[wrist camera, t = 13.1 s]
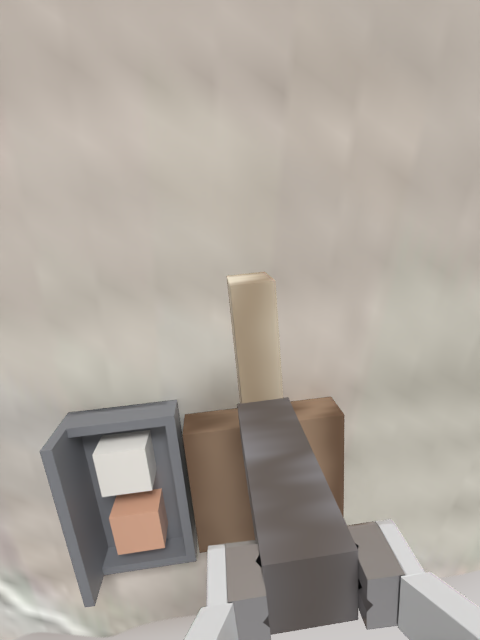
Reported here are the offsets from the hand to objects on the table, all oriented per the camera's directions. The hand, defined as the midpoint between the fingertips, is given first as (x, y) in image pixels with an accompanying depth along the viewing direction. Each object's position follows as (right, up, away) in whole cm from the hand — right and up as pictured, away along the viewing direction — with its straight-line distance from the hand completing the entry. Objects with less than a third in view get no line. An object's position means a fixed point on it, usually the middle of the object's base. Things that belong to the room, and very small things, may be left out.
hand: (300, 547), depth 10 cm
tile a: (-11, -5, +17) cm, 21 cm away
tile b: (-10, -11, +18) cm, 24 cm away
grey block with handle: (-1, +3, +9) cm, 10 cm away
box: (-11, -8, +20) cm, 24 cm away
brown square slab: (0, -6, +21) cm, 22 cm away
